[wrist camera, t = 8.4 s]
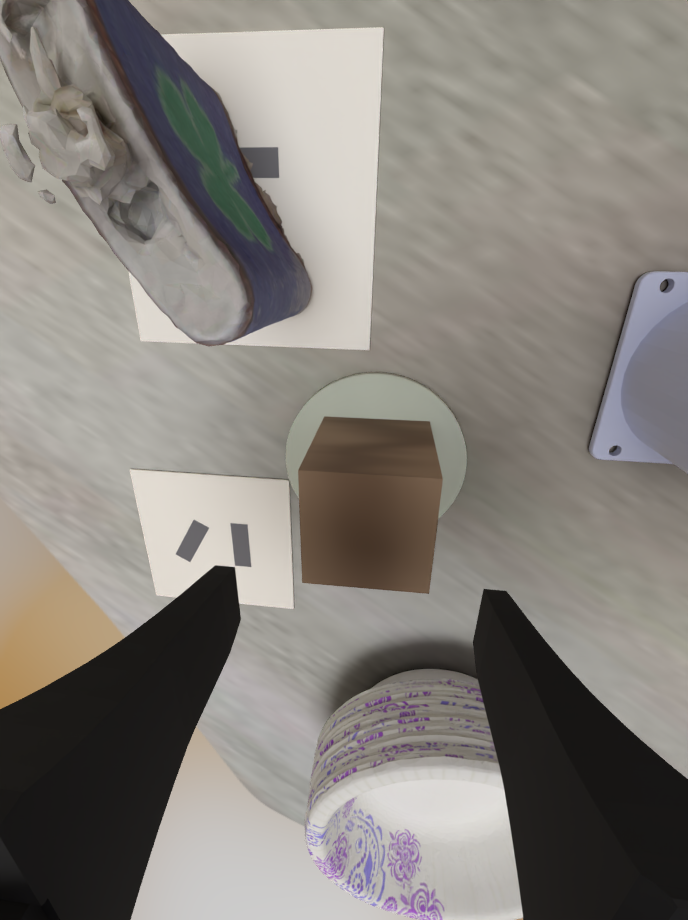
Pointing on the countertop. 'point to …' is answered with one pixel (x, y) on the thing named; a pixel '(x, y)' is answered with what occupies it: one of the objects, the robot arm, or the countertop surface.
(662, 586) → the countertop surface
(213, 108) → the flask
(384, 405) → the plate
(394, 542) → the walnut block
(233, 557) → the code tile
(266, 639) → the countertop surface
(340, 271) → the code tile
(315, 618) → the countertop surface
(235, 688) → the countertop surface
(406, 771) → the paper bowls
